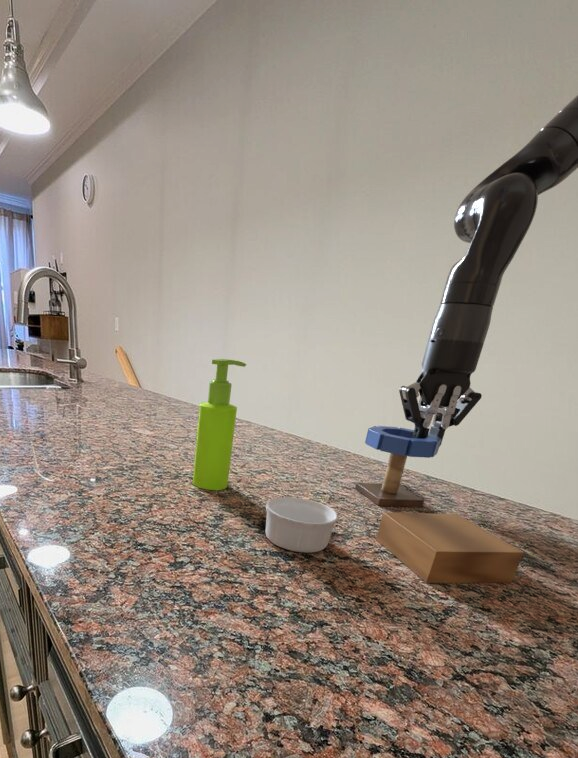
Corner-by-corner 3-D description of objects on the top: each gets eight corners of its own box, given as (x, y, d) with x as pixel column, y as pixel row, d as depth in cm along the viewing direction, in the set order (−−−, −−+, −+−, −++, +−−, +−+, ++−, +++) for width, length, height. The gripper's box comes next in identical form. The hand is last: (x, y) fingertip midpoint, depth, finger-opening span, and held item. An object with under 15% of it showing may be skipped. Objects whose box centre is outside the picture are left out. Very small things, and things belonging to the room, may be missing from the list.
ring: (410, 442, 79) (414, 428, 78) (450, 458, 70) (455, 443, 69) (355, 438, 77) (358, 424, 77) (388, 455, 68) (392, 439, 67)
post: (395, 490, 81) (410, 435, 77) (422, 507, 74) (440, 446, 70) (354, 488, 80) (368, 432, 76) (378, 505, 72) (394, 444, 69)
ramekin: (279, 520, 63) (284, 491, 61) (340, 540, 59) (347, 509, 57) (249, 539, 56) (253, 507, 55) (315, 564, 52) (323, 530, 50)
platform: (448, 540, 62) (457, 513, 60) (511, 583, 52) (524, 552, 50) (375, 539, 60) (382, 512, 58) (426, 583, 50) (437, 551, 48)
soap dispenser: (239, 486, 75) (255, 362, 67) (206, 492, 71) (219, 360, 64) (218, 476, 79) (231, 358, 72) (186, 480, 76) (196, 356, 68)
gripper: (478, 341, 72) (445, 445, 79) (401, 333, 70) (374, 441, 76) (515, 343, 65) (476, 457, 72) (431, 334, 63) (398, 453, 70)
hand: (423, 449), depth 74 cm, fingers closed on ring, 2 cm apart
